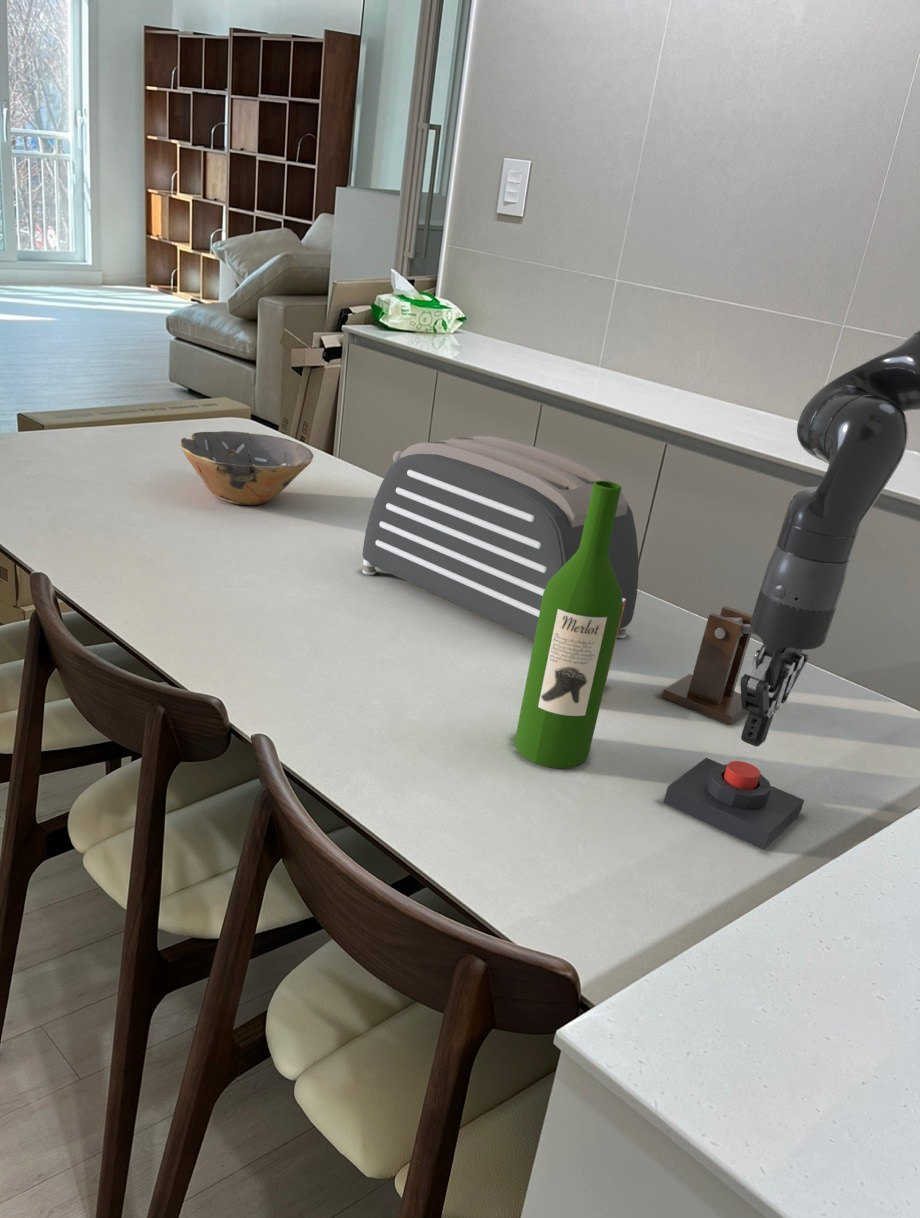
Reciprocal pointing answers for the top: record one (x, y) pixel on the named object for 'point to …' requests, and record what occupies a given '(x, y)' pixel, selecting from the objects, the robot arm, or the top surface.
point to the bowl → (245, 464)
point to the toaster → (490, 526)
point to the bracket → (716, 669)
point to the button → (742, 775)
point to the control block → (734, 804)
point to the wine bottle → (573, 645)
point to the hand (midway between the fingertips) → (752, 741)
